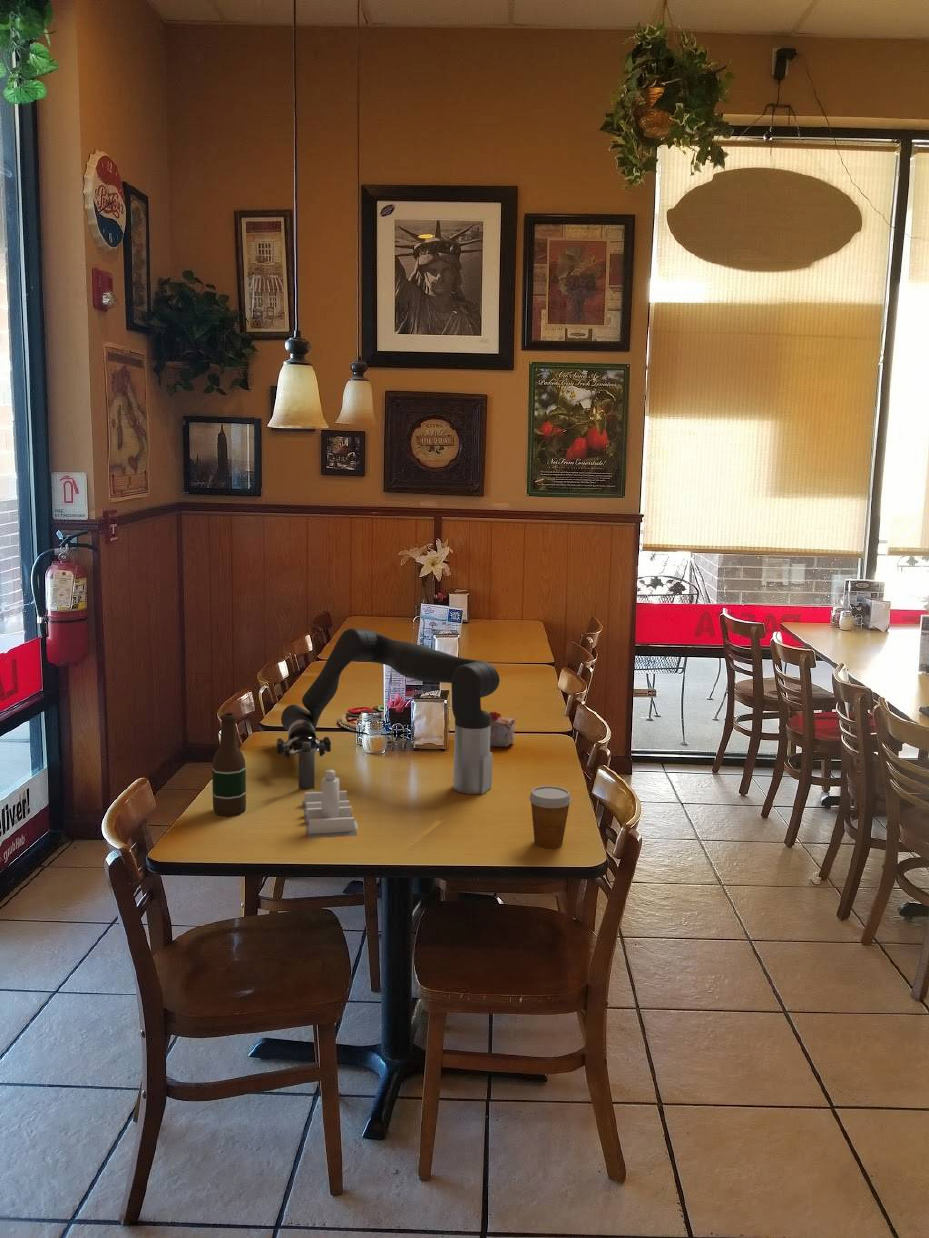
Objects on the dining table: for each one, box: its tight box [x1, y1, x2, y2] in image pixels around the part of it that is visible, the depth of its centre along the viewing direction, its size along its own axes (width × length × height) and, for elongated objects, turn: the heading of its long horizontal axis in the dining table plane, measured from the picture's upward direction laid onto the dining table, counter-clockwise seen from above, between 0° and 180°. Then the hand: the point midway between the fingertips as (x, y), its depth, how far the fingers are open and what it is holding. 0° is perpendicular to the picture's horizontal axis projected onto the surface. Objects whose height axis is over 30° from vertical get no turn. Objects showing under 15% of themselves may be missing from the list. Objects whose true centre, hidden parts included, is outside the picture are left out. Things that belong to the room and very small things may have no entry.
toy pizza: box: [337, 704, 384, 733], centre depth 325 cm, size 28×28×4 cm
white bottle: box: [320, 769, 340, 819], centre depth 232 cm, size 4×4×13 cm
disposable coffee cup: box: [528, 785, 573, 849], centre depth 229 cm, size 10×10×12 cm
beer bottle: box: [211, 712, 247, 818], centre depth 242 cm, size 8×8×24 cm
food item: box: [488, 711, 517, 748], centre depth 304 cm, size 14×8×10 cm, turn 71°
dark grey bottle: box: [298, 742, 316, 790], centre depth 258 cm, size 4×4×13 cm
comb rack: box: [301, 790, 359, 839], centre depth 238 cm, size 24×12×4 cm, turn 12°
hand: (304, 753), depth 267 cm, fingers open, 8 cm apart
